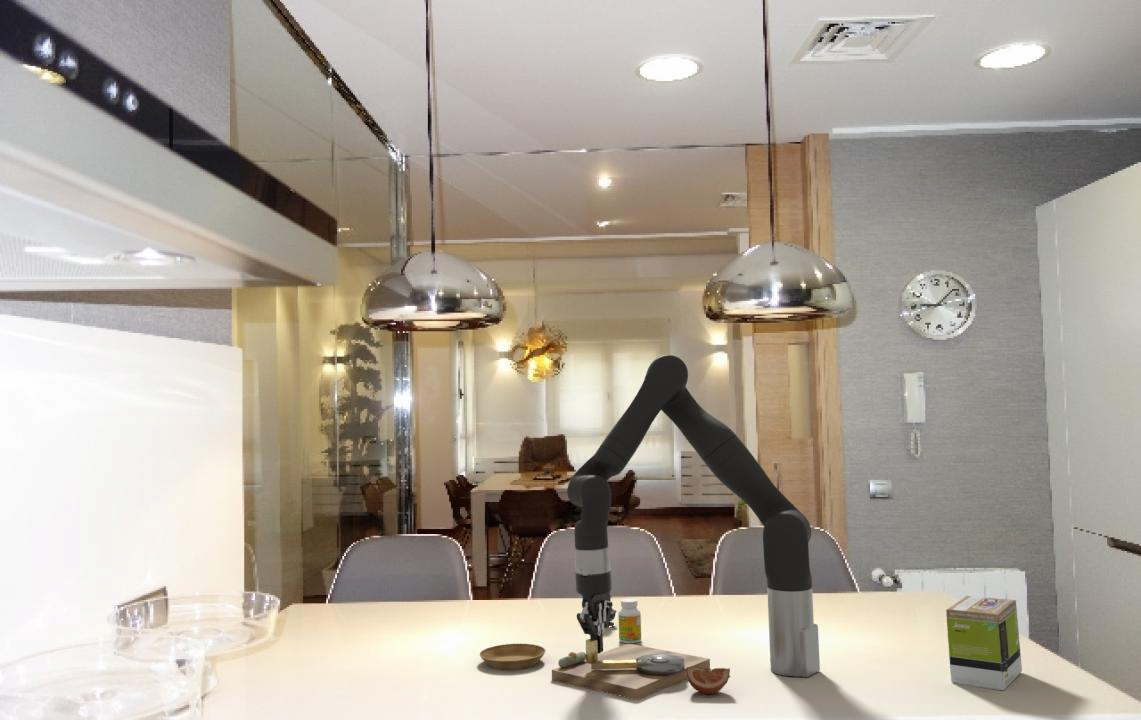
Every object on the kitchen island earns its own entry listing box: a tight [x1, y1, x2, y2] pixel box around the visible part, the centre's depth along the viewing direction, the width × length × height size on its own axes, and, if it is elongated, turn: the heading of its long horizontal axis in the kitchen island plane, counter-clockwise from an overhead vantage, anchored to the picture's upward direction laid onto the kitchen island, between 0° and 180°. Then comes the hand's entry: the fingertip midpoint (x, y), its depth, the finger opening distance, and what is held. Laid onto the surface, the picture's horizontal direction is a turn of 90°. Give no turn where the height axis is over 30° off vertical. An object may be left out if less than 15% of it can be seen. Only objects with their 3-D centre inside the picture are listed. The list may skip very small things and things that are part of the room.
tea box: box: [945, 595, 1023, 691], centre depth 176 cm, size 15×10×15 cm, turn 141°
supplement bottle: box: [618, 598, 642, 644], centre depth 213 cm, size 5×5×10 cm
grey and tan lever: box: [585, 638, 685, 675], centre depth 181 cm, size 20×10×6 cm, turn 90°
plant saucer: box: [479, 643, 547, 670], centre depth 197 cm, size 15×15×3 cm
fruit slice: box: [687, 667, 731, 695], centre depth 171 cm, size 8×7×5 cm
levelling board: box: [551, 643, 711, 700], centre depth 185 cm, size 22×26×5 cm
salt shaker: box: [606, 591, 617, 627], centre depth 230 cm, size 6×6×12 cm
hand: (597, 652), depth 185 cm, fingers closed
